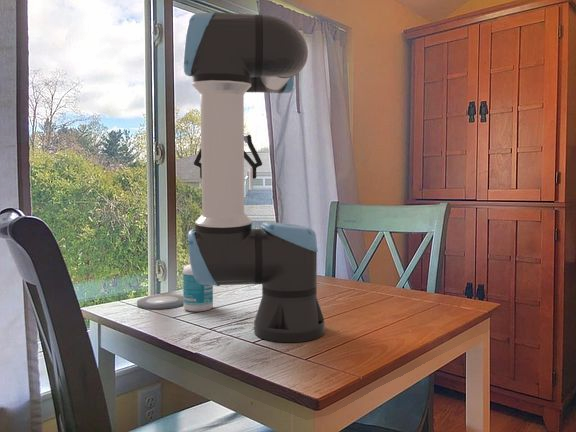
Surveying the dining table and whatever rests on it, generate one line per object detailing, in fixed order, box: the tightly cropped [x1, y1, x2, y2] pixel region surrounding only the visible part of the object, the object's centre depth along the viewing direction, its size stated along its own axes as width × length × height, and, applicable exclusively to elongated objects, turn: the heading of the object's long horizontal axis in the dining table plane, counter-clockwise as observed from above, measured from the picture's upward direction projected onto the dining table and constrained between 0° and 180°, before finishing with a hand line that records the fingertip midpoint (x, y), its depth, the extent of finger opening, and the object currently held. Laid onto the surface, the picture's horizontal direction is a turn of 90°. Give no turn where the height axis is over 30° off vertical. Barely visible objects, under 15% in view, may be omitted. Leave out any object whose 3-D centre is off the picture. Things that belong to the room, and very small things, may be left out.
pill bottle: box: [182, 256, 214, 312], centre depth 122 cm, size 8×7×14 cm
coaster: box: [136, 294, 184, 310], centre depth 128 cm, size 13×13×1 cm
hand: (228, 190), depth 144 cm, fingers open, 13 cm apart
